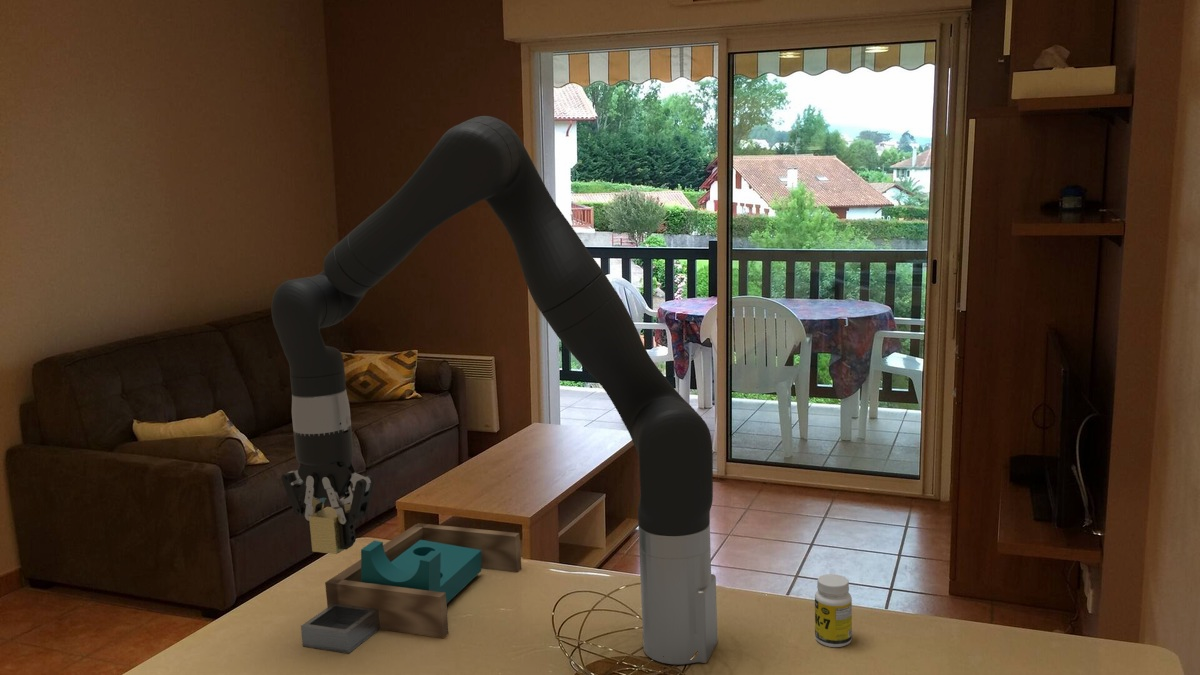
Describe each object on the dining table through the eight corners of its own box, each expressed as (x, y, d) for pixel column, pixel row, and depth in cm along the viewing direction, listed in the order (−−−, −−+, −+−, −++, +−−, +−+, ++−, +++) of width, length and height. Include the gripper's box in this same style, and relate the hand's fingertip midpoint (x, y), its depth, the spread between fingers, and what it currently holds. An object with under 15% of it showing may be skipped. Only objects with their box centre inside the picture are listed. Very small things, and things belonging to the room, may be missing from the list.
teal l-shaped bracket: (428, 630, 137) (429, 561, 135) (361, 617, 140) (361, 549, 138) (480, 579, 154) (481, 517, 152) (420, 568, 157) (420, 508, 155)
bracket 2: (521, 568, 156) (519, 533, 155) (443, 638, 133) (440, 597, 132) (420, 557, 163) (417, 523, 162) (328, 621, 140) (325, 582, 139)
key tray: (380, 628, 137) (378, 609, 136) (348, 653, 130) (346, 632, 129) (336, 622, 139) (334, 603, 139) (302, 646, 132) (300, 625, 132)
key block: (336, 554, 130) (333, 518, 129) (312, 551, 131) (309, 516, 130) (354, 543, 134) (351, 508, 133) (330, 540, 135) (327, 506, 134)
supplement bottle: (808, 635, 129) (807, 576, 128) (838, 628, 130) (837, 569, 129) (828, 651, 124) (828, 589, 123) (859, 643, 126) (859, 583, 125)
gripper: (260, 428, 129) (273, 551, 131) (349, 434, 124) (361, 561, 126) (296, 415, 136) (308, 531, 138) (382, 420, 131) (392, 541, 133)
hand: (333, 545), depth 132 cm, fingers closed on key block, 4 cm apart
